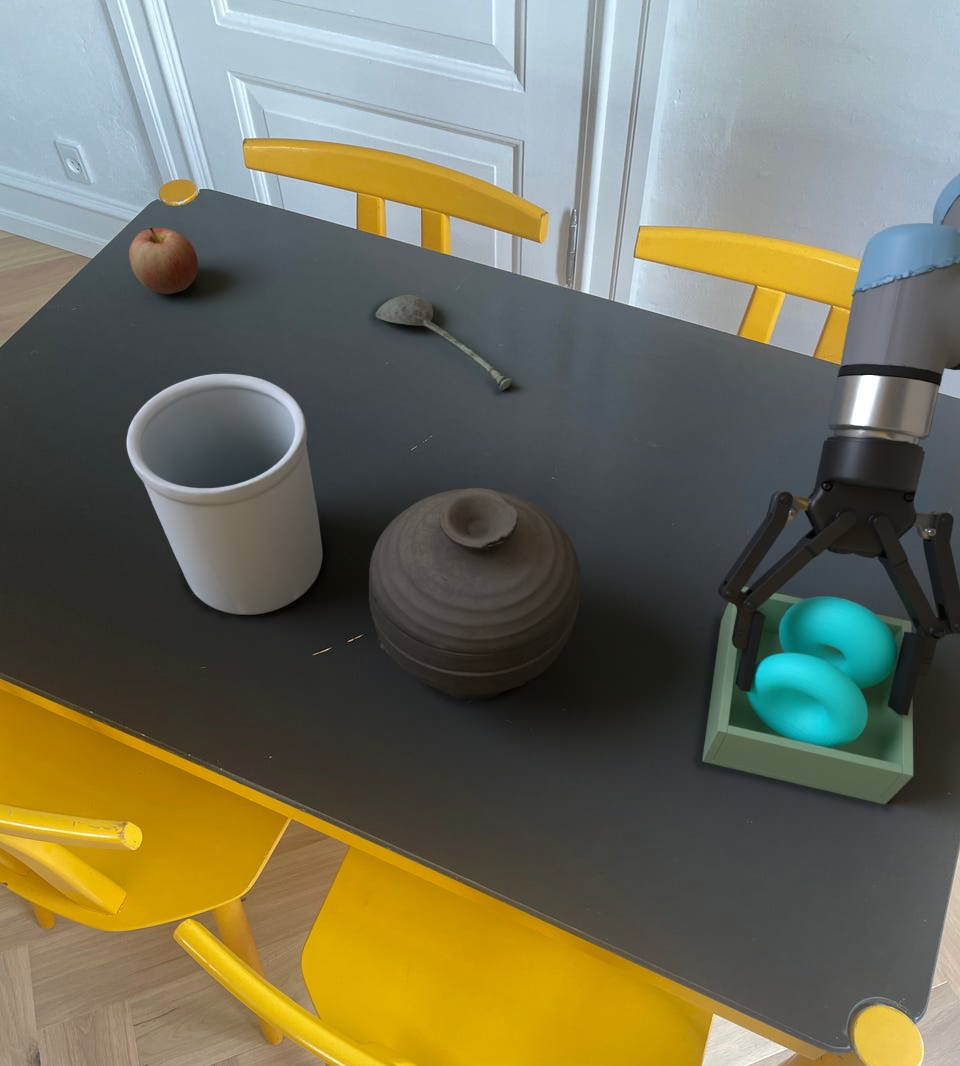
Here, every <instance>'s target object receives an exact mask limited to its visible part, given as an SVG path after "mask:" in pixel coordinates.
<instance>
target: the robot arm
mask: <svg viewBox="0 0 960 1066" xmlns="http://www.w3.org/2000/svg"><path fill="white" fill-rule="evenodd" d="M865 245H866V246H865V248H864V252H863V255H862V258H861V260H860V264H859V268H858V270H857V271H858V272H857V274H856V275H857V276H856V279H855V283H854V287H853V289H852V292H851V297H852V298H851V304H850V309H849V310H850V311H849V315H848V321H847V326H846V332H845V338H844V341H843V342H844V343H843V349H842V355H841V359H840V365H839V369H838V373H837V379H836V384H835V388H834V393H833V397H832V398H833V399H832V402H831V405H830V411H829V416H828V420H827V427H828V428H829V429H830V431H833V435H832V436H828V437H826V439H825V440H823V445H822V449H821V454H820V459H819V464H818V468H817V472H816V478H815V484H814V487H813V490H812V492H811V493H810V494H809V496H807V497H805V496H800V495H795V494H792V493H790V492H789V491H783V490H777V491H774V492H773V493H772V495H771V497H770V500H769V505H768V509H767V513H766V516H765V518H764V520H762V523H760V525H759V527H757V528H758V529H757V530H756V531H755V532H754V534H753V536H752V537H751V539H750V540H749V542H748V543H747V544H746V545H745V547H744V549H743V550H742V552H741V554H740V555H739V557H738V558H737V559H736V561H735V563H734V564H733V565H732V567H731V569H730V570H729V571H728V573H726V575H725V577H724V579H723V580H722V581H721V583H720V584H719V586H718V588H717V593H718V595H719V596H720V597H721V598H722V599H724V600H725V601H726V602H728V603H729V602H730V603H732V604H734V605H735V606H736V608H737V614H736V619H735V624H734V629H733V634H732V643H733V646H734V647H735V648H738V649H742V652H741V657H740V662H739V667H738V673H737V678H736V684H737V686H738V687H739V689H740V690H741V691H747V692H750V690H751V685H752V680H753V675H754V670H755V665H756V660H757V655H758V650H759V645H760V640H761V635H762V630H763V625H764V620H765V615H764V614H762V613H761V612H760V611H757V609H758V608H759V607H760V606H761V605H762V604H763V603H764V602H765V601H767V600H768V599H769V598H770V597H771V596H772V595H773V594H774V593H777V592H778V591H779V590H781V588H783V586H784V585H786V583H788V582H789V581H790V580H791V579H792V578H793V577H794V576H795V575H796V574H798V573H799V572H800V571H801V570H802V569H804V568H805V566H807V565H808V564H809V563H810V562H811V561H812V560H814V559H815V558H816V557H818V556H820V555H821V554H822V553H823V552H824V551H825V550H826V551H827V552H830V553H833V554H839V555H850V554H851V555H852V554H854V555H856V556H860V557H862V558H868V559H875V558H877V559H878V561H879V563H880V564H881V565H882V566H883V568H884V570H885V572H886V573H887V575H888V578H889V580H890V581H891V583H892V586H893V587H894V590H895V591H896V593H897V595H898V597H899V599H900V601H901V603H902V605H903V607H904V609H905V611H906V613H907V615H908V617H909V618H910V621H911V624H912V625H913V627H914V628H915V630H916V633H915V632H913V631H912V632H905V631H904V636H903V640H902V644H901V649H900V653H899V657H898V662H897V666H896V670H895V675H894V679H893V683H892V688H891V692H890V696H889V701H888V705H887V706H888V707H890V708H891V709H892V710H894V711H895V712H896V713H897V714H900V715H906V716H908V713H909V709H910V704H911V700H912V701H913V697H914V692H915V688H916V683H917V679H918V676H923V677H927V676H928V674H929V672H930V671H931V669H932V664H933V660H934V655H935V652H936V648H937V643H938V641H941V640H942V639H944V638H945V636H947V635H953V634H956V635H960V586H959V585H960V584H959V580H958V574H957V571H956V565H955V561H954V555H953V551H952V545H951V538H952V533H953V527H954V523H955V522H954V516H953V515H952V514H951V513H949V512H945V511H936V510H935V511H931V512H920V511H916V508H915V497H916V494H917V490H918V486H919V483H920V477H921V473H922V469H923V463H924V459H925V455H926V451H925V450H924V447H923V446H921V445H920V441H922V440H925V439H927V438H928V437H929V438H930V434H931V429H932V424H933V420H934V415H935V411H936V406H937V405H936V404H937V401H938V396H939V391H940V387H941V385H942V380H943V376H944V372H945V370H951V371H960V172H959V173H958V174H957V175H955V176H954V177H953V178H952V179H951V180H950V181H949V182H948V183H947V184H945V186H944V188H943V189H942V190H941V192H940V194H939V195H938V197H937V199H936V201H935V204H934V208H933V212H932V223H931V222H930V223H928V222H918V223H917V222H915V223H904V224H897V225H893V226H890V227H889V226H888V227H886V228H884V229H882V230H881V231H879V232H876V233H874V235H873V236H872V237H871V238H870V239H869V240H868V242H867V243H866V244H865ZM803 511H804V513H805V515H806V517H807V519H808V521H809V523H810V526H811V527H812V528H811V529H810V530H809V531H807V532H806V533H805V535H803V536H802V537H801V538H800V539H799V540H798V541H797V542H796V544H795V545H794V546H793V547H792V548H791V549H790V550H789V551H788V552H787V553H785V554H784V555H783V556H782V557H781V558H780V559H779V560H778V561H777V562H775V564H773V565H772V566H771V567H770V568H769V569H768V570H767V571H766V572H764V573H763V575H761V576H760V577H759V578H758V579H757V580H756V581H755V582H754V583H753V584H752V585H750V587H749V588H748V589H747V590H746V591H745V592H742V591H741V590H742V589H743V587H746V585H747V583H748V581H749V580H750V578H751V577H752V576H753V574H754V573H755V571H756V570H757V568H758V567H759V565H760V564H761V562H762V561H763V559H764V558H765V557H766V555H767V553H768V552H769V550H770V549H771V548H772V546H773V545H774V544H775V542H776V540H777V539H778V538H779V536H780V535H781V533H782V531H783V530H784V528H785V526H786V524H787V522H788V521H790V522H791V521H793V520H795V519H796V518H797V517H798V515H799V513H801V512H803ZM913 527H915V528H916V532H917V536H918V537H919V538H921V539H922V546H923V552H924V557H925V561H926V566H927V571H928V575H929V580H930V586H931V591H932V594H933V599H934V604H935V605H934V606H935V609H936V613H937V617H936V614H935V612H934V610H933V608H932V606H931V604H930V603H929V600H928V599H927V596H926V595H925V593H924V590H923V588H922V587H921V584H920V582H919V581H918V579H917V577H916V575H915V573H914V570H912V566H911V565H910V562H909V558H908V555H907V553H906V551H905V549H904V547H903V545H902V544H901V541H900V539H901V538H902V537H903V536H904V535H906V533H907V532H908V531H910V530H911V529H912V528H913Z"/></svg>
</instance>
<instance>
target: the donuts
mask: <svg viewBox="0 0 960 1066" xmlns="http://www.w3.org/2000/svg"><path fill="white" fill-rule="evenodd" d="M803 599H804V600H802V601H799V602H797V603H796V604H794V605H793V606H792V607H790V608H789V609H788V610H787V611H786V613H785V614H784V616H783V618H782V620H781V623H780V627H779V639H780V643H781V646H782V649H783V651H784V653H780V654H775V655H771V656H769V657H766V658H764V659H763V660H761V661H759V662H758V663H757V664H756V665H755V670H754V675H753V680H752V685H751V690H750V692H747V691H746V692H747V697H748V700H749V702H750V705H751V707H752V708H753V710H754V711H755V713H756V714H757V715H758V717H759V718H760V719H761V720H762V721H763V722H764V723H765V724H766V725H767V726H769V727H770V728H771V729H773V730H774V731H776V732H777V733H779V734H780V735H782V736H784V737H786V738H788V739H791V740H796V741H800V742H804V743H809V744H813V745H818V746H822V747H826V748H833V747H839V746H843V745H846V744H848V743H850V742H852V741H853V740H855V739H856V738H857V737H858V736H859V735H860V734H861V733H862V732H863V730H864V728H865V726H866V723H867V718H868V710H867V704H866V701H865V698H864V696H863V694H862V692H861V690H860V689H863V688H867V687H871V686H874V685H876V684H878V683H880V682H881V681H883V680H884V679H885V678H887V677H888V675H889V674H890V673H891V672H892V670H893V669H894V667H895V664H896V661H897V652H898V651H897V645H896V641H895V638H894V636H893V634H892V632H891V631H890V629H889V628H888V626H887V625H886V624H885V623H884V622H883V621H882V620H881V619H880V618H879V617H878V616H877V615H876V614H877V613H875V612H873V611H872V610H870V609H869V608H867V607H865V606H864V605H861V604H859V603H857V602H855V601H852V600H849V599H846V598H842V597H837V596H828V595H827V596H826V595H821V596H812V597H807V598H803ZM824 645H828V646H831V647H834V648H836V649H838V650H839V651H840V652H842V653H843V654H840V653H837V652H834V651H832V650H830V649H828V648H827V647H825V646H824Z"/></svg>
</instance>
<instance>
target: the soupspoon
mask: <svg viewBox="0 0 960 1066" xmlns="http://www.w3.org/2000/svg"><path fill="white" fill-rule="evenodd" d="M433 315H434V309H433V304H432V303H431V302H430V300H428V299H427V298H425V297H423V296H419V295H417V294H403V295H399V296H398V295H397V296H395V297H393V298H391V299H388V300H387V301H386V302H384V303H383V304H382V305H381V306H379V308H378V309H377V310H376V312H375V318H377V319H379V320H380V321H381V320H382V321H383V322H387V323H393V324H398V325H407V326H417V327H418V326H419V327H425V328H427V329H429V330H431V331H432V332H434V333H436V334H438V335H439V336H440V337H442V338H444V339H445V340H446V341H448V342H449V343H451V344H452V345H454V346H455V347H456V348H458V349H459V350H460V351H462V352H464V354H466V355H467V356H469V357H470V358H471V359H473V360H474V361H475V362H476V363H478V364H479V365H480V366H482V367H483V368H485V369H486V372H487V374H491V377H492V379H493V380H495V381H496V383H497V385H499V391H505V390H507V389H508V387H510V385H511V384H512V378H510V377H509V378H507V377H506V376H505V375H502V374H501V373H500V372H499V371H497V370H495V367H494V366H491V365H490V364H489V363H488V362H486V360H484V359H483V358H482V357H481V356H479V355H478V354H477V353H476V352H474V351H473V350H471V349H470V348H468V347H467V346H466V345H465V344H464V343H462V342H461V341H459V340H458V339H457V338H455V337H454V336H452V335H451V334H450V333H448V332H447V331H446V330H444V329H442V328H441V327H440V326H438V325H437V324H435V323H433V322H432V319H433Z"/></svg>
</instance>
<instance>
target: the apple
mask: <svg viewBox="0 0 960 1066" xmlns="http://www.w3.org/2000/svg"><path fill="white" fill-rule="evenodd" d="M128 259H129V263H130V267H131V269H132V272H133V274H134V275H135V277H136V278H137V280H138V281H139V283H141V285H143V286H144V287H145V288H146V289H147V290H150V291H152V292H154V293H157V294H160V295H161V294H162V295H171V294H175V293H178V292H182V291H184V290H187V288H189V287H190V285H192V283H193V282H194V280H195V278H196V277H197V274H198V269H199V260H198V257H197V253H196V250H195V248H194V246H193V245H192V243H191V242H190V240H188V239H187V238H186V236H184V235H182V234H181V233H179V232H178V231H175V230H173V229H170V228H163V227H162V228H161V227H155V228H153V226H149V227H148V229H145V230H142V231H141V232H139V233H138V234H137V235H135V236H134V239H133V240H132V241H131V244H130V247H129V249H128Z"/></svg>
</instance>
